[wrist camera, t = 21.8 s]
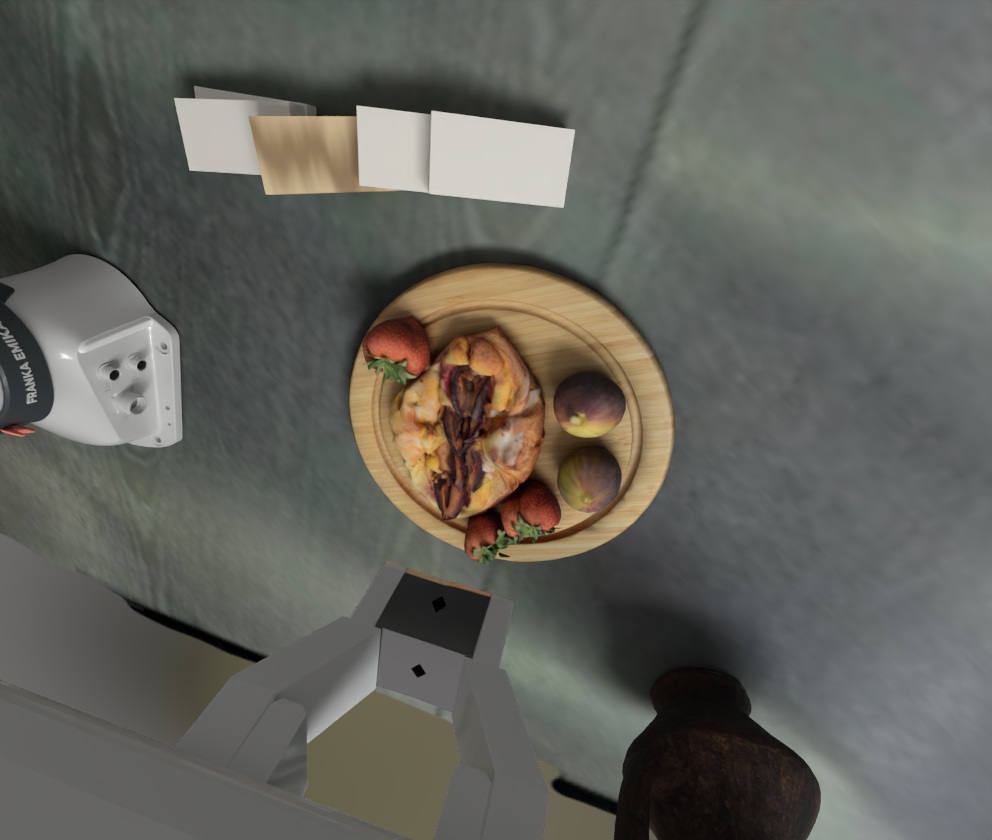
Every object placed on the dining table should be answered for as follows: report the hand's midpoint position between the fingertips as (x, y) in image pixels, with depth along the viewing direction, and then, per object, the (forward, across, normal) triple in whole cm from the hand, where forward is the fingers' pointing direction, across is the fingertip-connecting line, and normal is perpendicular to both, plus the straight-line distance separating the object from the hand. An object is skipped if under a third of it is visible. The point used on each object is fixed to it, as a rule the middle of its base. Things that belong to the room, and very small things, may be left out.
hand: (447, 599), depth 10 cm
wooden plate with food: (+34, +3, +14) cm, 37 cm away
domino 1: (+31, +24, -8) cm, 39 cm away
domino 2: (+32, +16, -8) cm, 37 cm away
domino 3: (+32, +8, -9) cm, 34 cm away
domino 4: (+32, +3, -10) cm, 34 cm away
